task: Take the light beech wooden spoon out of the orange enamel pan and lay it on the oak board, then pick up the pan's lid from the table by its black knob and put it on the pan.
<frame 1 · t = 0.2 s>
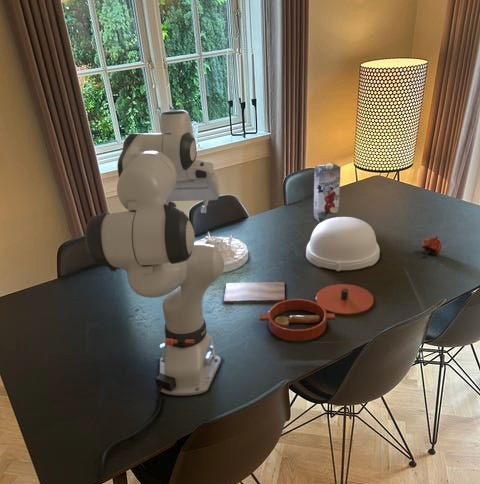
hand: (188, 212, 151), 39 cm above the table, tool pointing down, fingers open, 8 cm apart
cake: (215, 258, 211), on the table
lid: (344, 299, 176), point 1 cm above the table
dome cover: (342, 254, 207), on the table
spoon: (299, 322, 166), resting on pan
pan: (297, 325, 165), on the table
pomegranate: (430, 254, 202), on the table
board: (254, 293, 184), on the table
juice carton: (325, 220, 238), on the table
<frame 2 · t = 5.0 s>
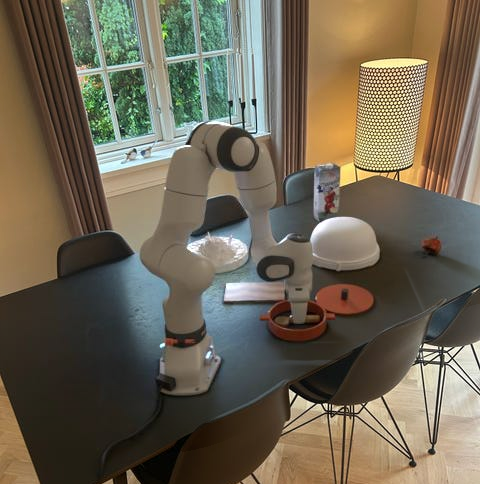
hand: (298, 319, 165), 2 cm above the table, tool pointing down, fingers closed on spoon, 2 cm apart
spoon: (299, 322, 166), resting on pan, touching gripper
everything else where it was.
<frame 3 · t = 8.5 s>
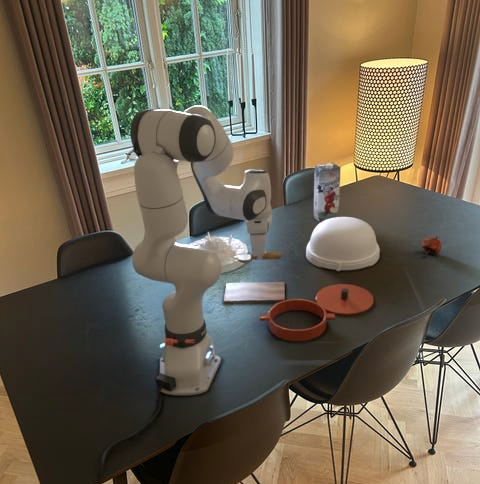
hand: (260, 256, 171), 17 cm above the table, tool pointing down, fingers closed on spoon, 2 cm apart
spoon: (261, 259, 172), point 16 cm above the table, touching gripper
everything else where it was.
when the fingers open (2 cm above the table, at t = 12.4 s): spoon stays where it is, resting on board.
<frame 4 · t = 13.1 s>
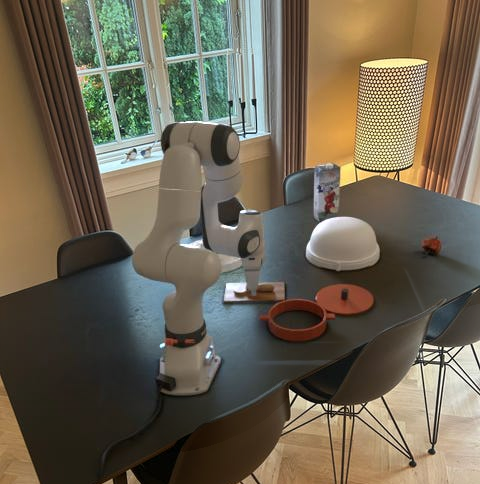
hand: (254, 288, 183), 2 cm above the table, tool pointing down, fingers open, 8 cm apart
spoon: (256, 290, 183), point 1 cm above the table, touching board
everything else where it was.
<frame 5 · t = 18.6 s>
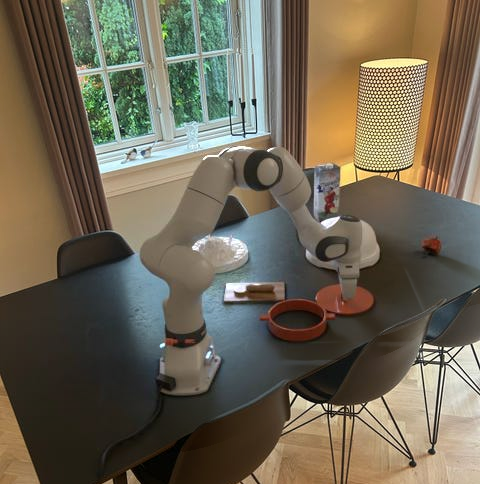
hand: (344, 296, 175), 2 cm above the table, tool pointing down, fingers closed on lid, 2 cm apart
lid: (344, 299, 176), point 1 cm above the table, touching gripper
everything else where it was.
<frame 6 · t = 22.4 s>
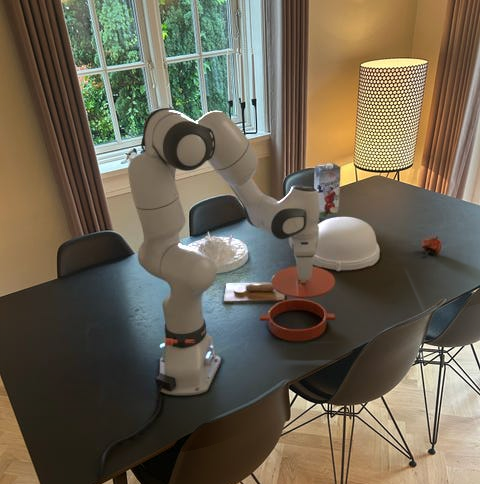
hand: (302, 279, 157), 17 cm above the table, tool pointing down, fingers closed on lid, 2 cm apart
lid: (303, 281, 158), point 16 cm above the table, touching gripper
everything else where it was.
when the fingers open (5 cm above the table, at t = 26.0 s): lid stays where it is, resting on pan.
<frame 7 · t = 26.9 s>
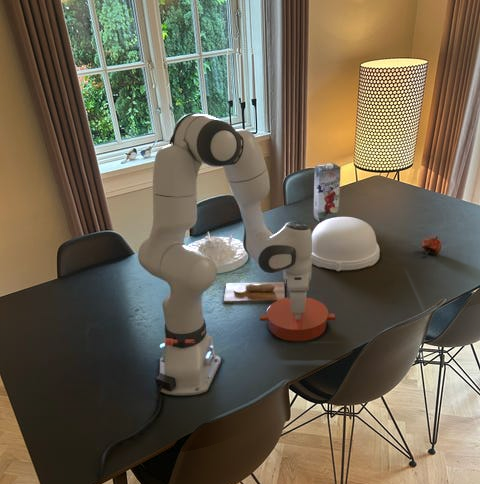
hand: (297, 310, 162), 6 cm above the table, tool pointing down, fingers open, 8 cm apart
lid: (297, 313, 163), point 4 cm above the table, touching pan
everything else where it was.
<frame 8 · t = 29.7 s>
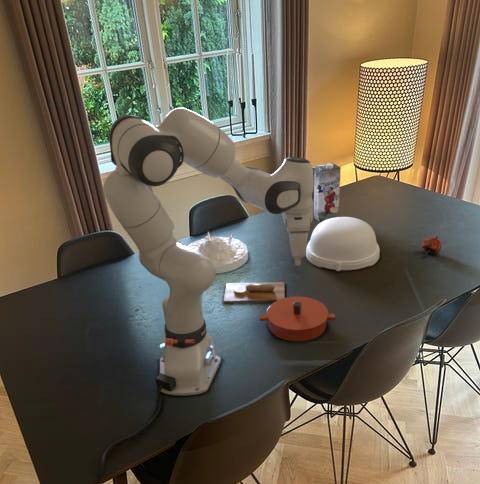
hand: (297, 257, 151), 25 cm above the table, tool pointing down, fingers open, 8 cm apart
nothing on the table moved.
at the end: spoon inside the target area on the board (0.6 cm from its centre), point 1.2 cm above the board's base; lid 0.2 cm off-centre on the pan, point 4.5 cm above the pan's base; lid tilted 0° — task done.
